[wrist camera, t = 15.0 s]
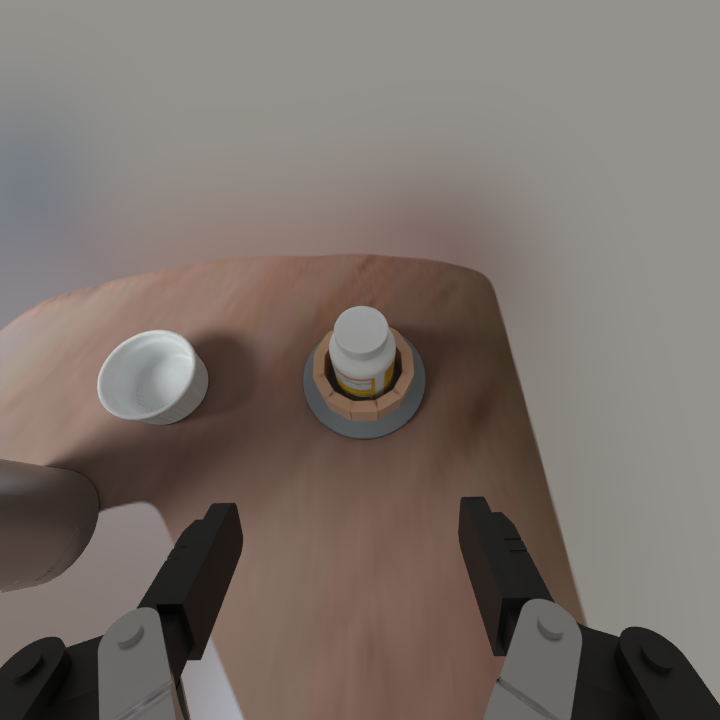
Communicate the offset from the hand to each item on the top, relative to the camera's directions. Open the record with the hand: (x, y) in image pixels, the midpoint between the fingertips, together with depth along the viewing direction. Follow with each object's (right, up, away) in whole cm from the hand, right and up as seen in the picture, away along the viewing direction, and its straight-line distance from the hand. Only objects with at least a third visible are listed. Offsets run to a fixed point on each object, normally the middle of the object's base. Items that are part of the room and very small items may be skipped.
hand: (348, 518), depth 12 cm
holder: (+1, +4, +22) cm, 23 cm away
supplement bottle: (+1, +4, +22) cm, 22 cm away
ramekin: (-19, +3, +23) cm, 30 cm away
